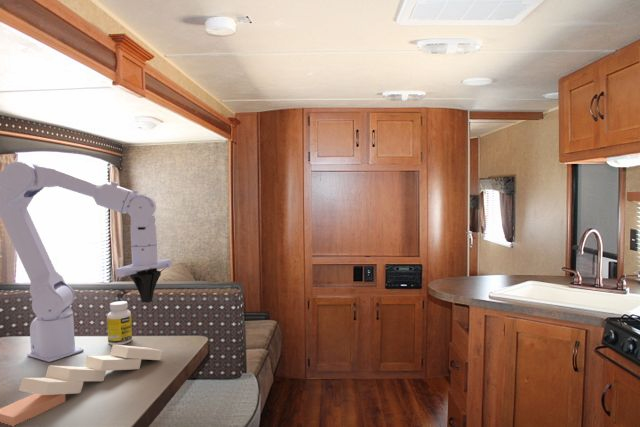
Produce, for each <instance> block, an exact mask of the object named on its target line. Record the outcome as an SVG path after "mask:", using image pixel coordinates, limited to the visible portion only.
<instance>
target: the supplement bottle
mask: <svg viewBox="0 0 640 427" xmlns="http://www.w3.org/2000/svg"><path fill="white" fill-rule="evenodd" d="M128 307H129V305H128V301H126V300H119V301H113V302H110V303H109V310H110V311H109V312H108V313H107V316H106V321H107V323H106V324H107V342H108V345H110V346H113V344H114V345H126V344H128V343H130V342H132V340H133V329H132V328H133V327H132V326H133V325H132V313H131V310H129V309H128Z"/></svg>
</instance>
